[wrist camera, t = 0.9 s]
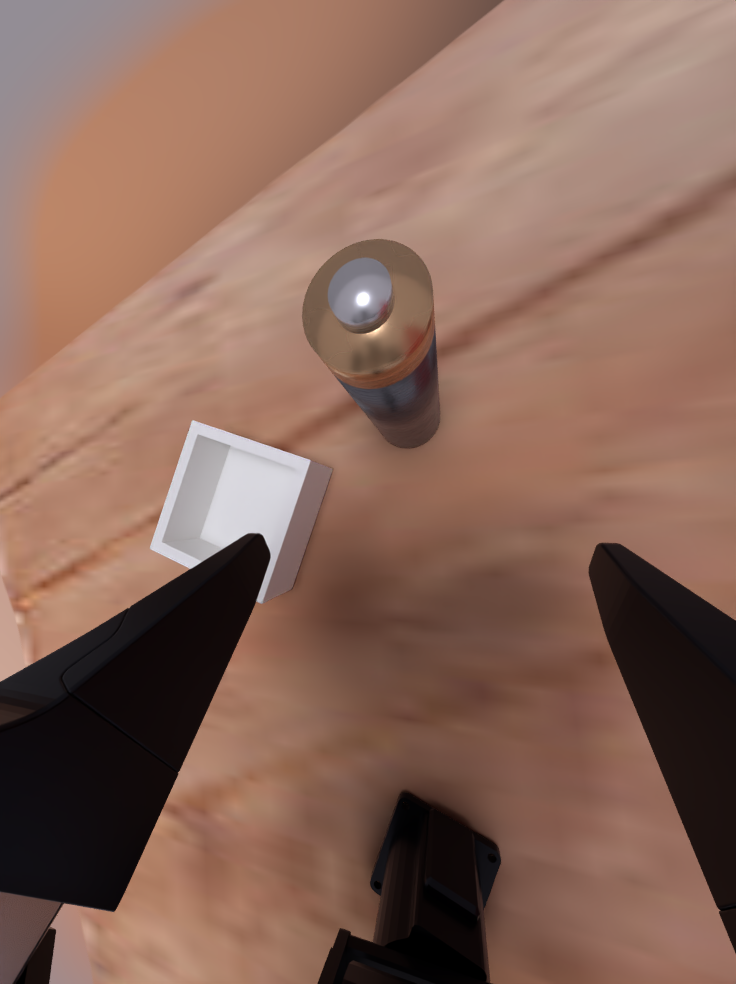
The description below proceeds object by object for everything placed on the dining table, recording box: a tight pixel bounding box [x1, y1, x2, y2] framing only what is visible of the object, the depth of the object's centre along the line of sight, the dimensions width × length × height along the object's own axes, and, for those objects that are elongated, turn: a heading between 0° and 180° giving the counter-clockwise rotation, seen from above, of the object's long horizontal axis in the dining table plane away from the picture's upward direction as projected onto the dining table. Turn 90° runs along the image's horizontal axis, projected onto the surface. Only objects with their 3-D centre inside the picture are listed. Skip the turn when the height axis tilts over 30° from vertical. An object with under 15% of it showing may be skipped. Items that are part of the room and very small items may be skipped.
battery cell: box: [302, 239, 440, 448], centre depth 16 cm, size 4×4×13 cm
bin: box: [150, 420, 333, 604], centre depth 23 cm, size 10×10×4 cm
